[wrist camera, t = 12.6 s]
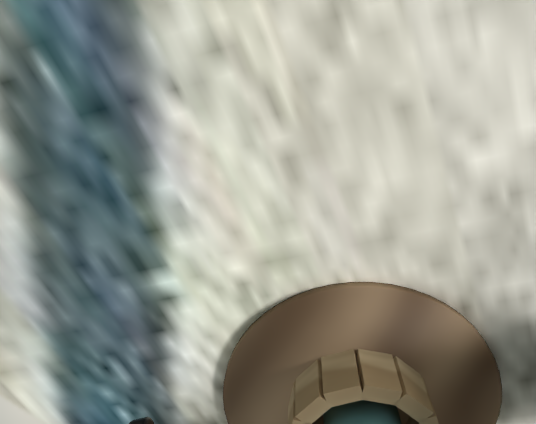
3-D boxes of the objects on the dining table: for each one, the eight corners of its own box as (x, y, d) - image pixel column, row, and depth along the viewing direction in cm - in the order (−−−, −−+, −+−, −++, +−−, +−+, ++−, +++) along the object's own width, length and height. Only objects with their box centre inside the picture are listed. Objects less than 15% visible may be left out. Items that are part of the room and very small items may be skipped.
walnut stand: (541, 309, 25) (577, 351, 22) (448, 508, 31) (465, 564, 28) (242, 259, 25) (233, 293, 22) (211, 468, 31) (201, 518, 28)
